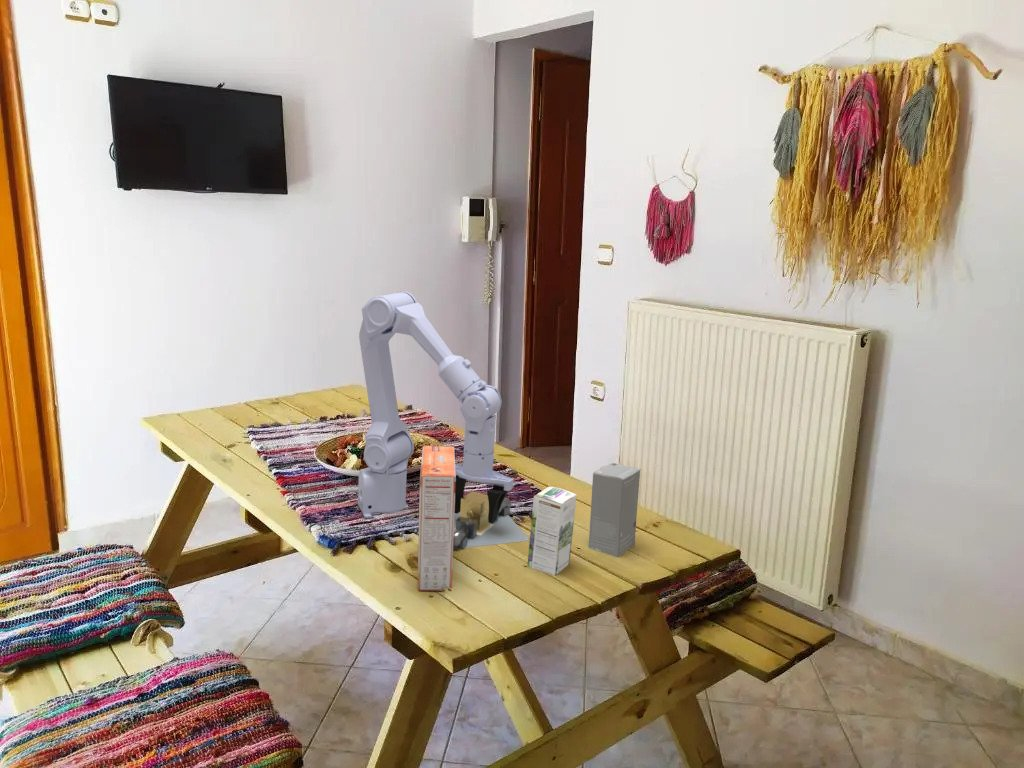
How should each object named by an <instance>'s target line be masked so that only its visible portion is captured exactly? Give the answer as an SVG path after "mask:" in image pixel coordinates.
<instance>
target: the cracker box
mask: <svg viewBox="0 0 1024 768" xmlns="http://www.w3.org/2000/svg"><path fill="white" fill-rule="evenodd" d="M421 452H422V453H421V461H420V475H419V500H418V544H417V545H418V548H417V551H418V552H417V553H418V556H417V558H418V559H417V562H418V564H417V568H418V569H417V579H418V580H417V581H418V582H417V585H418V587H417V588H418V591H419V592H422V591H423V592H430V591H431V592H437V591H438V592H445V591H446V590H445V589H451V588H453V587H452V586H453V584H452V583H453V563H454V562H453V559H454V558H453V557H454V556H453V555H454V549H453V536H454V510H455V488H456V470H455V464H456V457H455V453H456V452H455V447H454V446H438V445H423V446H422V451H421Z"/></svg>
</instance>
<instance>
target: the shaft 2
mask: <svg viewBox="0 0 1024 768" xmlns="http://www.w3.org/2000/svg"><path fill="white" fill-rule="evenodd" d="M511 506H512V502H511V499H510V498H508V497H505V498H504V500H503V502H502V504H501V507H500V509H499V512H498V515H500V516H503V517H505V516H506V515H510V514H511V513H510V512H511ZM497 521H498V516H497V520H496V521H494V522H493V523H495V522H497ZM493 523H491V524H493Z"/></svg>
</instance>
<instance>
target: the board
mask: <svg viewBox="0 0 1024 768" xmlns="http://www.w3.org/2000/svg"><path fill="white" fill-rule="evenodd" d="M459 517H460V512H459V513H458V514H456V513H454V532H455V531H456V520H457V519H458V518H459ZM528 541H529V542H530V537H528V535H526V533H525V532H524V531H523V530H522V529H521V528H520V526H519V525H518V524H517V523H516V522H515V521H514V519H512V517H511V516H510V514H508V515H506V516H505V517H503V516H500V515H498V521H497V522H495V523H493V524H491V523H490V525H489V526H488V527H487V528H485V529H484V530H483V531H481V532H480V533H478V532H477V536H476V537H475V538H474V539H473V540H472V539H468V538H467V545H466V546H465V548H464V549H469V548H474V547H475V548H477V547H485V546H493V545H503V544H513V543H519V542H520V543H521V542H528ZM458 549H459V548H453V550H458Z"/></svg>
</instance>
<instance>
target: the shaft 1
mask: <svg viewBox="0 0 1024 768" xmlns="http://www.w3.org/2000/svg"><path fill="white" fill-rule="evenodd" d="M476 536H477V520H473V519H469V518H464V517H459V518H458V519H457V520H456V531H455V532H454V536H453V548H459V549H460V550H464V549H466V548H465V546H466V545H467V538H468V539H472V540H473V539H474V538H475V537H476Z"/></svg>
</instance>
